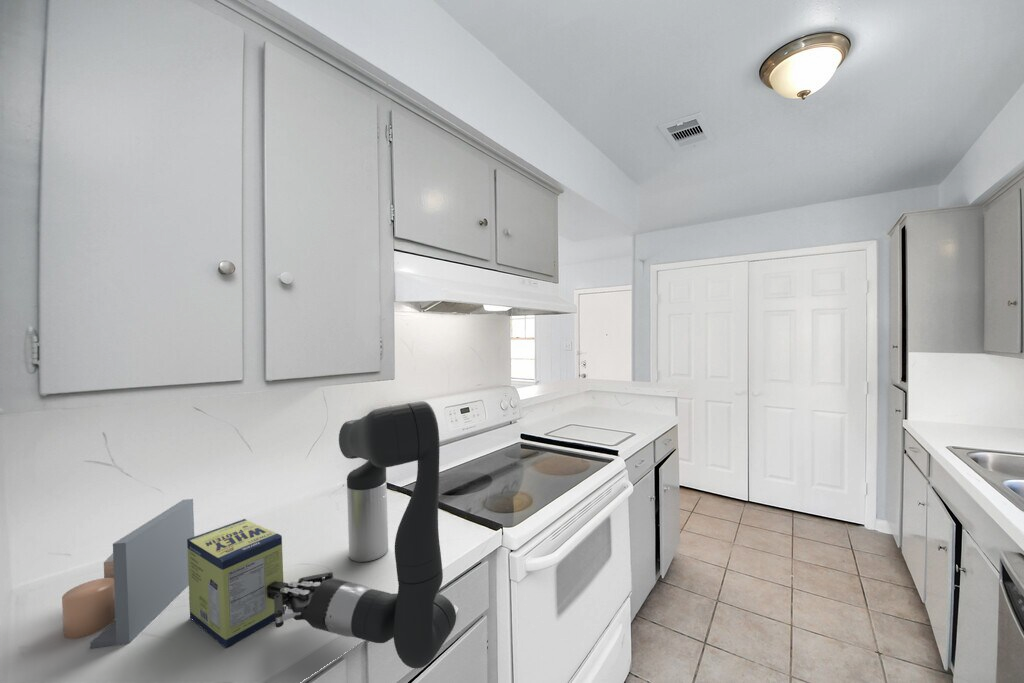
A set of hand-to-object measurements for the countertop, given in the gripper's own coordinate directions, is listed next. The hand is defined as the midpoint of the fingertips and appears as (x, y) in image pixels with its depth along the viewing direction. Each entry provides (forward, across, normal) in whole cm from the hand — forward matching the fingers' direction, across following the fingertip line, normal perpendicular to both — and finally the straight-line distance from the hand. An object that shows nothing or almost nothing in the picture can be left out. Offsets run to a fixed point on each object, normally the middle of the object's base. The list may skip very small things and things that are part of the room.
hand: (270, 588), depth 77 cm
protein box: (+8, +1, +7) cm, 11 cm away
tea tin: (+38, +3, +7) cm, 38 cm away
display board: (+28, +4, +7) cm, 29 cm away
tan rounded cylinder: (+33, +11, +7) cm, 35 cm away
